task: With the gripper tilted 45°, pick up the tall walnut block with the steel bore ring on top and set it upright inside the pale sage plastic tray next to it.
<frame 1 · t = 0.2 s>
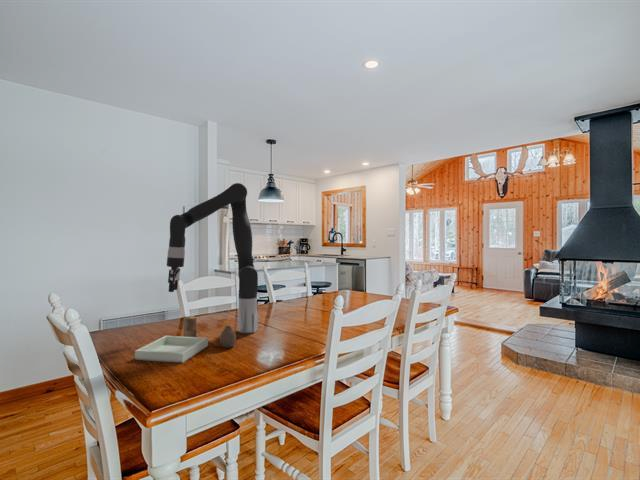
hand: (173, 290, 158), 22 cm above the table, tool pointing down, fingers open, 8 cm apart
sage tray: (173, 352, 138), on the table
vase: (228, 346, 146), on the table
walnut block: (189, 338, 156), on the table
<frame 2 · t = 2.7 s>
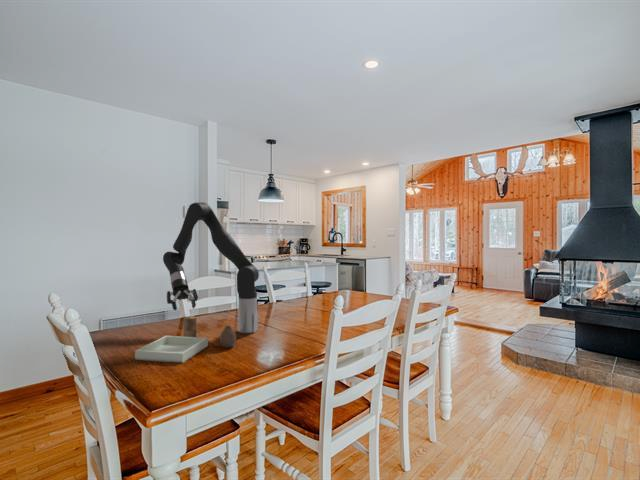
hand: (185, 308, 163), 13 cm above the table, tool tilted 45°, fingers open, 8 cm apart
nothing on the table moved.
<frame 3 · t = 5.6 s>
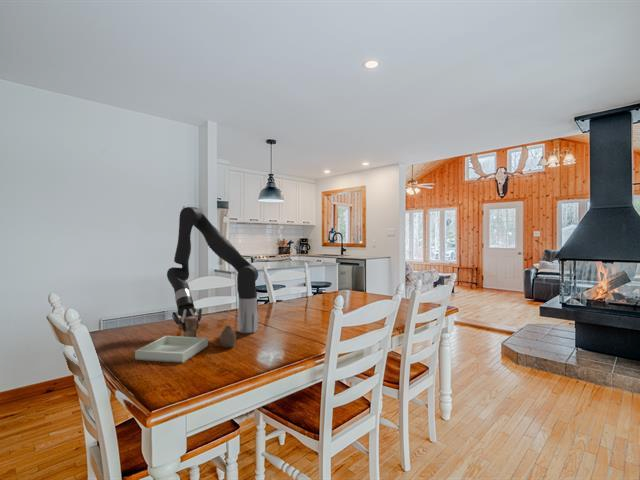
hand: (191, 329, 155), 5 cm above the table, tool tilted 45°, fingers closed on walnut block, 4 cm apart
walnut block: (189, 338, 156), on the table, touching gripper
everything else where it was.
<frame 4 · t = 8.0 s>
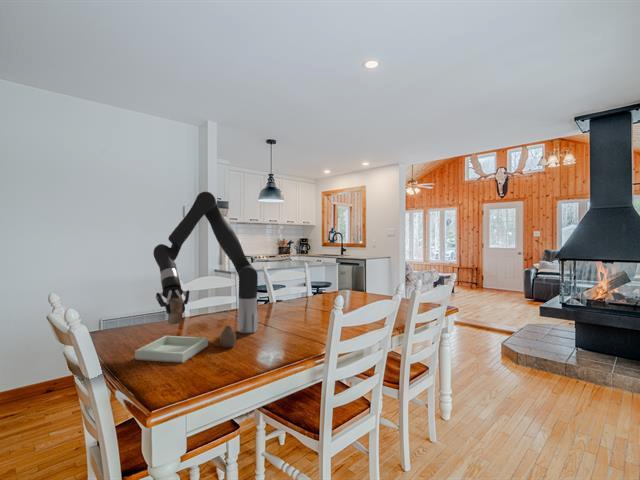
hand: (176, 312, 140), 16 cm above the table, tool tilted 45°, fingers closed on walnut block, 4 cm apart
walnut block: (175, 322, 141), point 12 cm above the table, touching gripper
everything else where it was.
when the fingers open (7 cm above the table, at t = 10.5 s): walnut block drops 1 cm, resting on sage tray.
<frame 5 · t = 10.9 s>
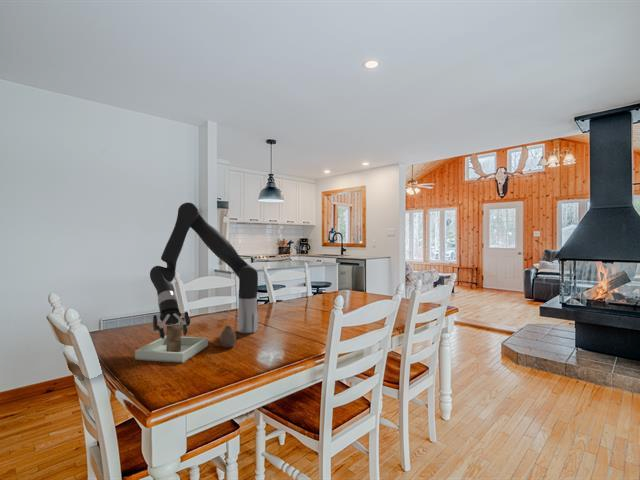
hand: (174, 336, 137), 7 cm above the table, tool tilted 45°, fingers open, 8 cm apart
walnut block: (173, 350, 138), point 1 cm above the table, touching sage tray
everything else where it was.
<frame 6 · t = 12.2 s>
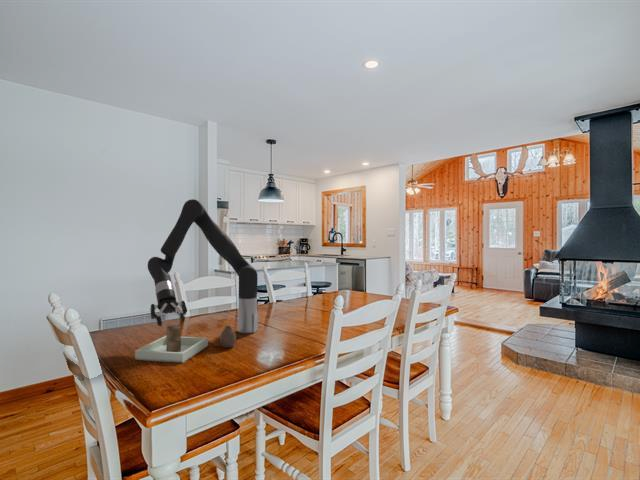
hand: (171, 323, 141), 11 cm above the table, tool tilted 45°, fingers open, 8 cm apart
nothing on the table moved.
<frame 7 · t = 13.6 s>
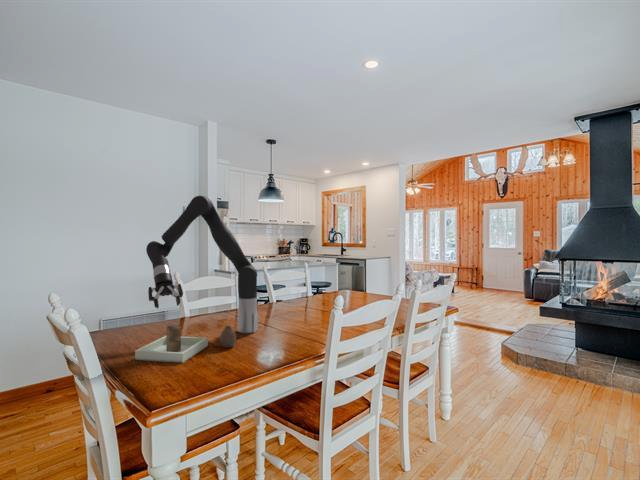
hand: (168, 306, 149), 17 cm above the table, tool tilted 40°, fingers open, 8 cm apart
nothing on the table moved.
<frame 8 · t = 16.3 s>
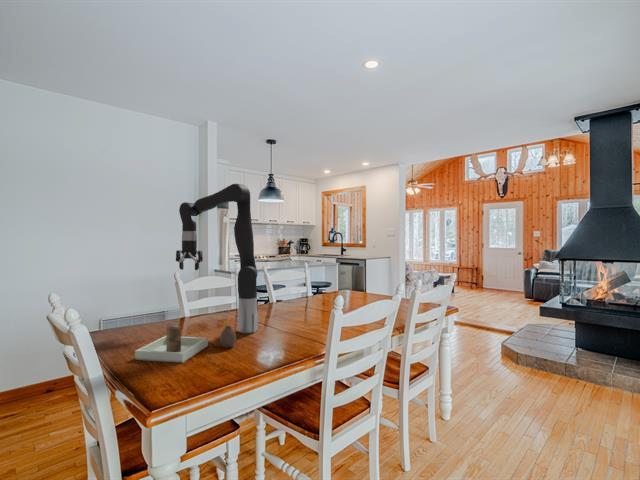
hand: (189, 269, 180), 30 cm above the table, tool pointing down, fingers open, 8 cm apart
nothing on the table moved.
at the end: walnut block inside the target area on the sage tray (0.1 cm from its centre), point 0.6 cm above the sage tray's base; walnut block tilted 0°; the gripper is holding nothing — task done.
